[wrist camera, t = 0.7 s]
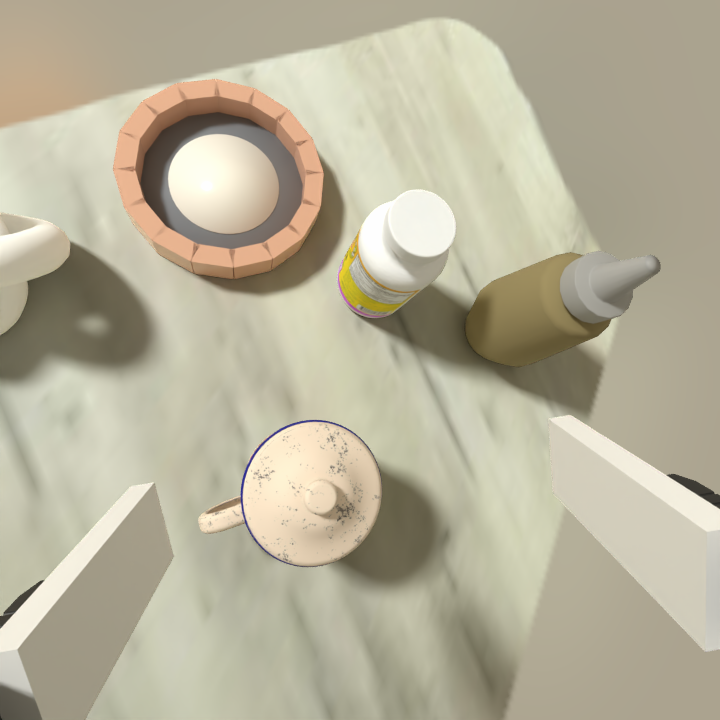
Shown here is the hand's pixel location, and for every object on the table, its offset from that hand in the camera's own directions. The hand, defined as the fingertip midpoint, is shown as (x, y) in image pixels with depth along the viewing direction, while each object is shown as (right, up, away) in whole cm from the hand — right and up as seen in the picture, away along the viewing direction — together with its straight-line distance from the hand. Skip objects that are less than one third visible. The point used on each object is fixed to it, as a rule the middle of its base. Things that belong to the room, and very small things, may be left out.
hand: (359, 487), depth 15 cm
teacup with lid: (-6, -6, +22) cm, 24 cm away
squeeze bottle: (+13, +7, +29) cm, 32 cm away
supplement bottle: (+1, +11, +27) cm, 29 cm away
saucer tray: (-12, +19, +25) cm, 33 cm away
